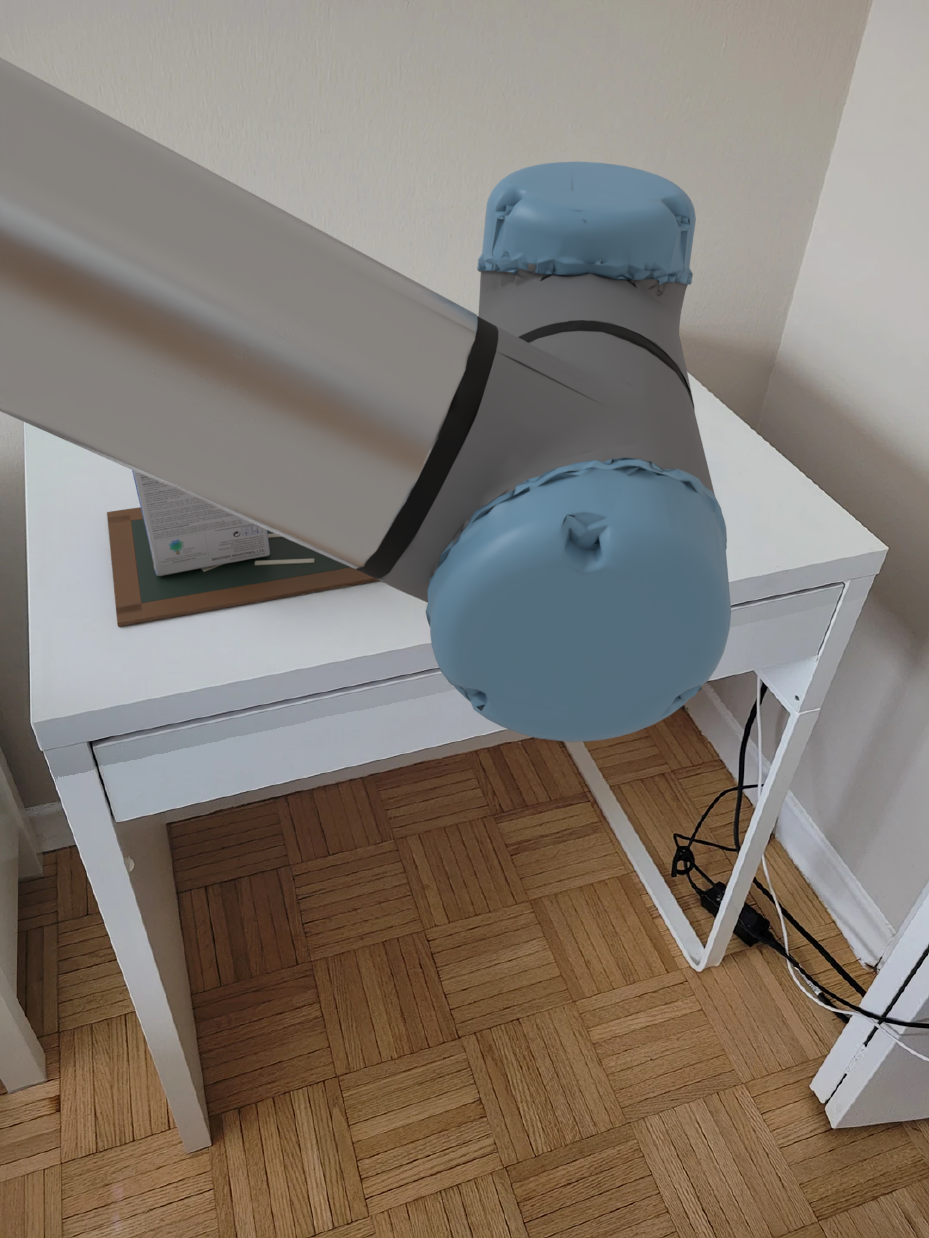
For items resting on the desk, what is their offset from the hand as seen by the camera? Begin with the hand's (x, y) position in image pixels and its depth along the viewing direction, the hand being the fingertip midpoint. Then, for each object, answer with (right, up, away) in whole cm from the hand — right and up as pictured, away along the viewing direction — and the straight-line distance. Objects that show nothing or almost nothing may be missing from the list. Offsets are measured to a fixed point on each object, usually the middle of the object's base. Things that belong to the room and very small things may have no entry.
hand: (224, 312), depth 61 cm
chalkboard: (-4, -13, +23) cm, 27 cm away
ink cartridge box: (-7, -14, +21) cm, 26 cm away
